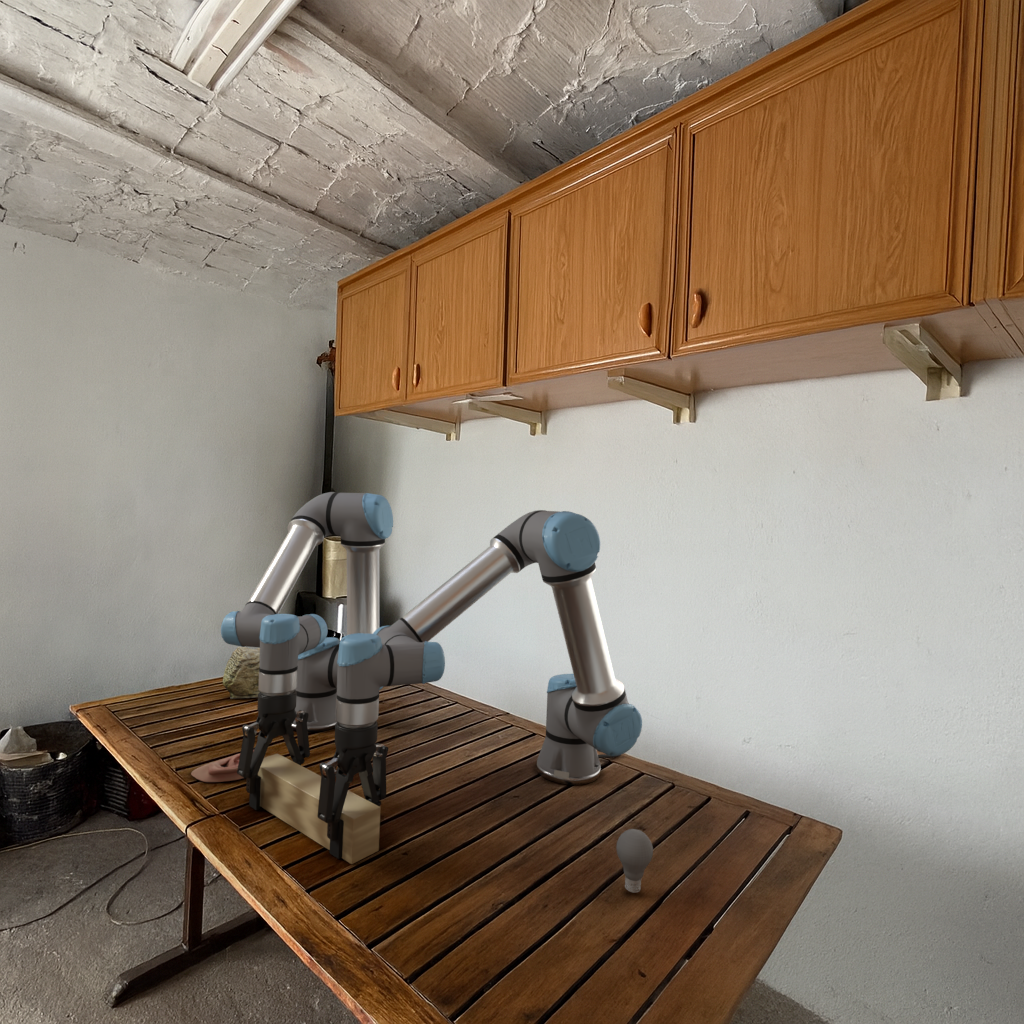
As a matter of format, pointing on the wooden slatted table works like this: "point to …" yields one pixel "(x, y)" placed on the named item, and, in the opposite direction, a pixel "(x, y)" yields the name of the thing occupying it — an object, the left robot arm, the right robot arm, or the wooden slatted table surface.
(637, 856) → the light bulb
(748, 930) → the wooden slatted table surface
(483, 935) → the wooden slatted table surface
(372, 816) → the birch beam
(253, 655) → the fossil
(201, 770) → the anatomical model
